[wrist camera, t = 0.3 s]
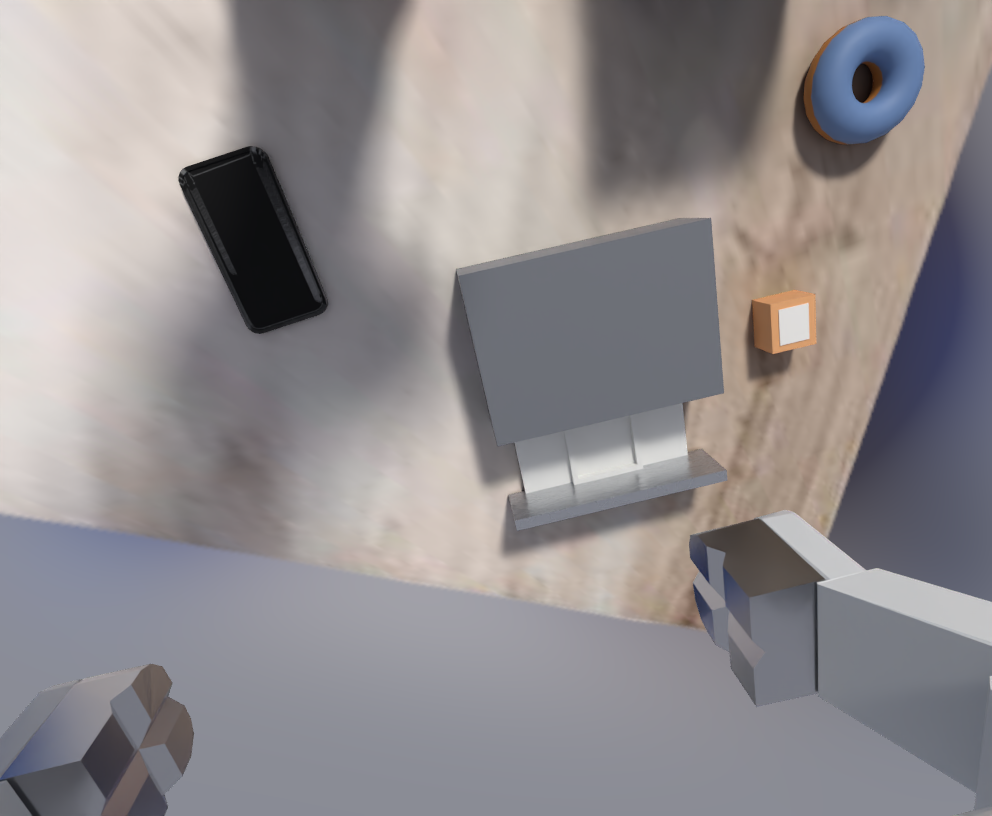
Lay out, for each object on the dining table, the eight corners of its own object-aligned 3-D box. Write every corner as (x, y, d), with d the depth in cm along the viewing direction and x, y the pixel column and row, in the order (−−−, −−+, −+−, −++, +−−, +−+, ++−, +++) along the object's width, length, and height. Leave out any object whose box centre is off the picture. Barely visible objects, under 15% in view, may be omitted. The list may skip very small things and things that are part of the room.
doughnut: (899, 138, 52) (938, 125, 48) (795, 158, 53) (824, 148, 48) (899, 20, 50) (940, -4, 46) (789, 42, 50) (819, 20, 46)
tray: (478, 368, 56) (483, 384, 50) (689, 319, 56) (715, 330, 51) (510, 503, 61) (517, 531, 56) (702, 457, 62) (727, 480, 56)
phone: (260, 142, 47) (330, 311, 52) (264, 144, 48) (332, 309, 53) (172, 171, 47) (250, 337, 52) (178, 172, 48) (254, 335, 53)
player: (455, 269, 52) (458, 275, 46) (679, 218, 53) (710, 218, 47) (491, 422, 58) (497, 446, 52) (694, 374, 58) (723, 392, 52)
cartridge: (751, 299, 57) (771, 304, 53) (793, 289, 57) (815, 294, 53) (753, 346, 58) (773, 354, 55) (794, 336, 58) (816, 343, 55)
